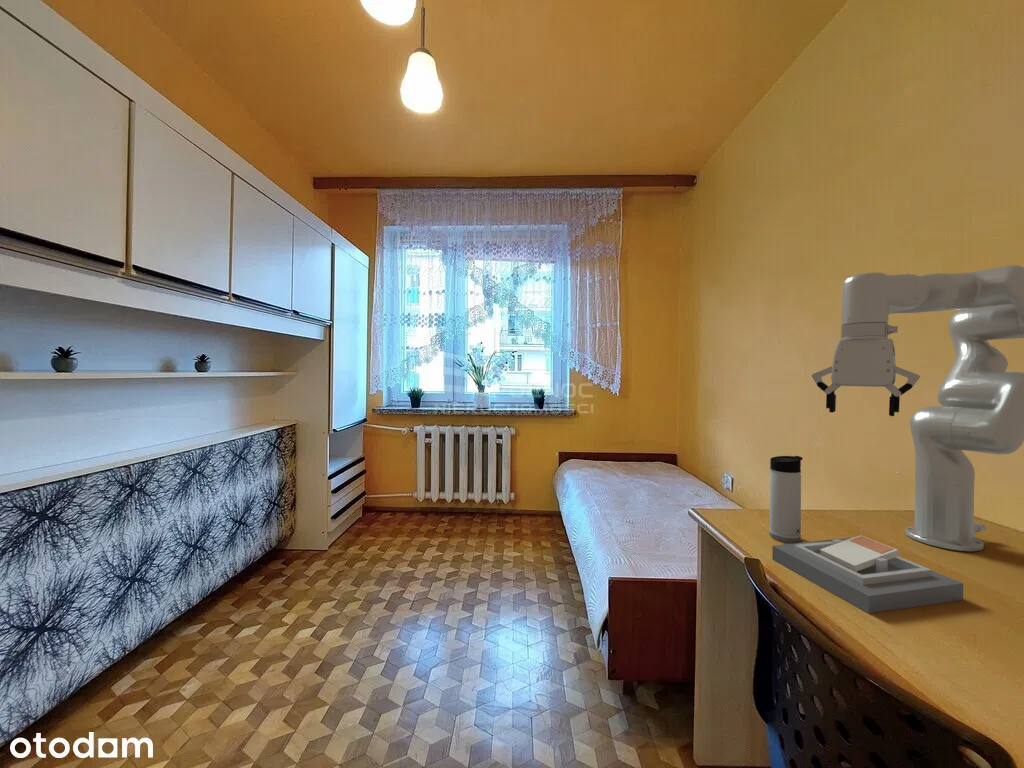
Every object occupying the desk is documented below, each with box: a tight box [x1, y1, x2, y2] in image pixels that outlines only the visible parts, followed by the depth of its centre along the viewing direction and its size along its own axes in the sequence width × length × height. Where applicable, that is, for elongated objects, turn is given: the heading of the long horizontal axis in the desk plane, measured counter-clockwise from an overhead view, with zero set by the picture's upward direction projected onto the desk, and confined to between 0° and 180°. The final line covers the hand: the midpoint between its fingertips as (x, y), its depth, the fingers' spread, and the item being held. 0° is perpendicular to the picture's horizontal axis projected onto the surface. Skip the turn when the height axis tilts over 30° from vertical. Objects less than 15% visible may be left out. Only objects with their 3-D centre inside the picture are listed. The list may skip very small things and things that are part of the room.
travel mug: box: [769, 455, 803, 544], centre depth 98 cm, size 6×7×20 cm
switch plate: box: [771, 537, 964, 614], centre depth 79 cm, size 20×20×6 cm
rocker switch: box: [820, 534, 900, 572], centre depth 79 cm, size 10×7×1 cm
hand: (860, 413), depth 86 cm, fingers open, 9 cm apart
